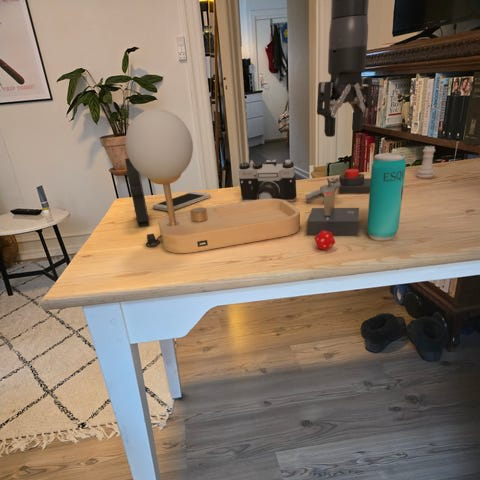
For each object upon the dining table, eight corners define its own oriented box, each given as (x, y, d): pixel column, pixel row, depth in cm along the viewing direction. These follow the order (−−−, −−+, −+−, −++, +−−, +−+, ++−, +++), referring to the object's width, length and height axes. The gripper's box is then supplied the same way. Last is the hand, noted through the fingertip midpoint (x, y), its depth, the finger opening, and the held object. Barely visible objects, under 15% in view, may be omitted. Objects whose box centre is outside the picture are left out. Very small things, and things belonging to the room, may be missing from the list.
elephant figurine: (306, 197, 109) (339, 183, 106) (313, 217, 107) (346, 203, 105) (298, 180, 99) (334, 164, 97) (305, 201, 98) (342, 185, 95)
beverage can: (402, 240, 77) (412, 156, 70) (372, 243, 77) (379, 160, 69) (390, 230, 82) (398, 151, 75) (362, 233, 82) (367, 154, 74)
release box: (377, 184, 114) (378, 171, 112) (378, 192, 106) (379, 179, 104) (339, 185, 116) (340, 172, 114) (337, 193, 109) (338, 180, 107)
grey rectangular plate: (327, 208, 88) (328, 185, 86) (334, 208, 88) (335, 185, 86) (323, 216, 84) (324, 193, 81) (330, 216, 83) (331, 193, 81)
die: (326, 237, 79) (318, 224, 76) (340, 240, 77) (333, 227, 74) (316, 252, 79) (308, 239, 76) (330, 256, 76) (323, 243, 73)
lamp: (280, 211, 99) (276, 93, 86) (308, 233, 85) (308, 95, 72) (143, 233, 94) (117, 110, 80) (148, 261, 79) (117, 116, 66)
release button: (358, 175, 111) (359, 168, 110) (358, 178, 108) (358, 171, 107) (345, 175, 112) (345, 169, 111) (344, 179, 109) (344, 172, 108)
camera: (235, 212, 106) (229, 175, 99) (245, 193, 114) (240, 157, 107) (290, 213, 102) (288, 174, 95) (298, 193, 109) (296, 156, 103)
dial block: (358, 219, 90) (359, 204, 88) (357, 235, 81) (358, 220, 80) (307, 218, 93) (307, 205, 91) (301, 235, 84) (301, 220, 83)
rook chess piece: (436, 175, 116) (441, 145, 112) (429, 179, 114) (434, 148, 109) (420, 174, 119) (424, 145, 115) (414, 177, 116) (418, 147, 112)
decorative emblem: (149, 227, 97) (135, 161, 89) (139, 229, 97) (124, 162, 89) (148, 214, 107) (135, 153, 99) (138, 215, 107) (125, 154, 99)
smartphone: (210, 196, 116) (210, 193, 116) (169, 211, 107) (169, 208, 106) (193, 194, 121) (193, 191, 120) (152, 208, 111) (151, 204, 111)
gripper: (356, 45, 88) (352, 128, 96) (308, 49, 81) (308, 137, 90) (386, 42, 83) (378, 129, 91) (337, 45, 76) (333, 139, 84)
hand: (343, 133), depth 90 cm, fingers open, 8 cm apart
